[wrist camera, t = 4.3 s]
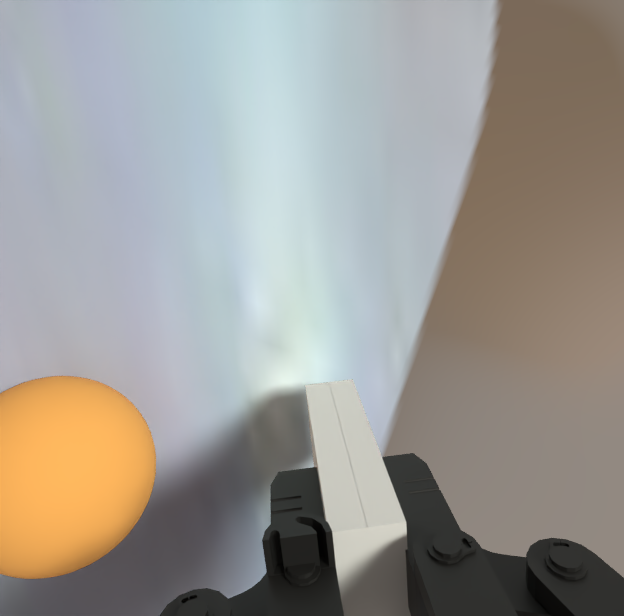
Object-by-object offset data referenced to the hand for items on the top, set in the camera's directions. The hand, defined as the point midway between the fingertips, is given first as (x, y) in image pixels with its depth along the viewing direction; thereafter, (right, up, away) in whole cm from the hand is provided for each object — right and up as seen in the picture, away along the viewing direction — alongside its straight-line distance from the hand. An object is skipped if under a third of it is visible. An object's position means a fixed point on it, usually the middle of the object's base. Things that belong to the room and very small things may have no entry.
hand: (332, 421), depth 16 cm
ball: (-8, -1, -1) cm, 8 cm away
